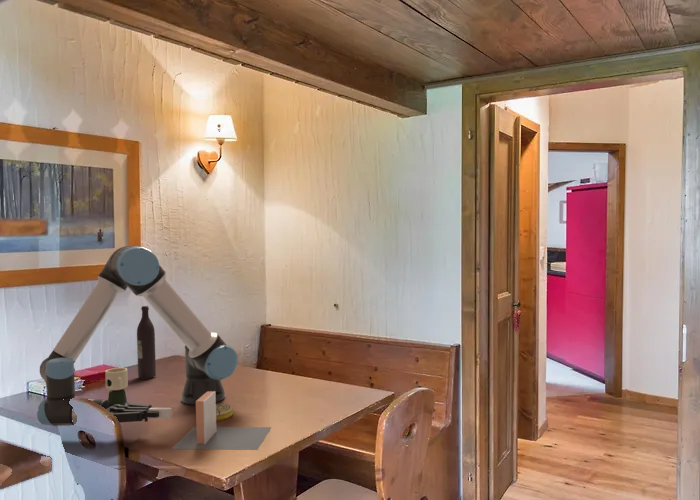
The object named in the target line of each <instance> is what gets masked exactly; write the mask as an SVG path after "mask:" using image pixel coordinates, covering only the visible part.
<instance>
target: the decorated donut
mask: <svg viewBox="0 0 700 500" xmlns="http://www.w3.org/2000/svg"><path fill="white" fill-rule="evenodd" d="M233 413H234V410H233V406H231V405H230V404H229V405H228V404H223V403H221V404H220V403H219V404H216V422H220V421H225V420H228V419H229V418H231V417H232V415H233Z"/></svg>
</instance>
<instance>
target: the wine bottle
mask: <svg viewBox="0 0 700 500" xmlns="http://www.w3.org/2000/svg"><path fill="white" fill-rule="evenodd" d="M140 309H141V319H140V321H139V323H138V325H137V329H136V345H137V346H136V347H137V348H136V350H137V351H136V353H137V377H139V378H151V377H154V376H157V370H156V369H157V366H156V362H157V361H156V337H155V336H156V335H155V333H156V332H155V327H154V324H153V322H152V320H151V318H150V315H149V310H150V309H149V306H148V305H142V306H141V308H140ZM139 378H138V379H139ZM154 378H155V377H154ZM151 379H152V378H151Z"/></svg>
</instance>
